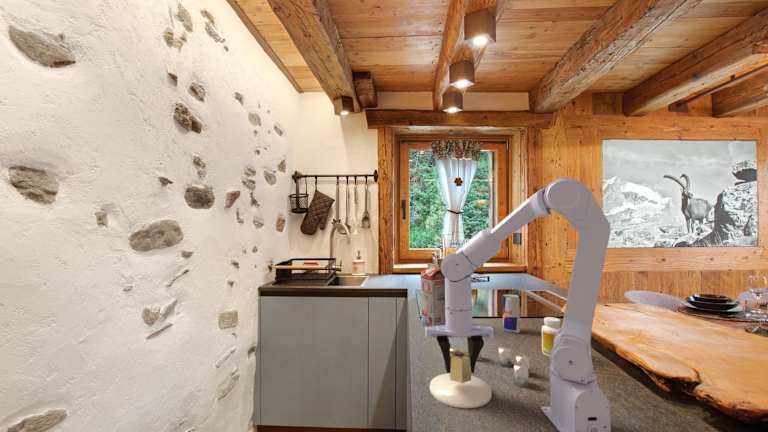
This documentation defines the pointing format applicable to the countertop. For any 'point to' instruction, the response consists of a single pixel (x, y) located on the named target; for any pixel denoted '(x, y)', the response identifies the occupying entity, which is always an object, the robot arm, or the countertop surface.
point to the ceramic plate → (460, 392)
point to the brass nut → (460, 366)
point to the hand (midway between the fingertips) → (459, 370)
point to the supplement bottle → (549, 334)
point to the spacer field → (505, 360)
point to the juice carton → (432, 296)
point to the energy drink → (511, 313)
